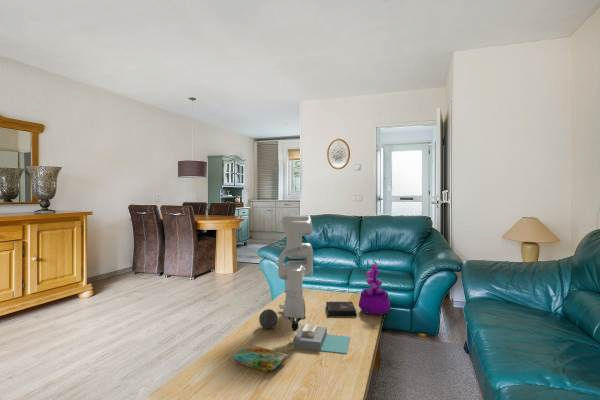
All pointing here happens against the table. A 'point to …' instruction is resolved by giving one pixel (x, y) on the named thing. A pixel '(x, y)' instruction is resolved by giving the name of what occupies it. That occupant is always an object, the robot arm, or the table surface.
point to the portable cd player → (341, 309)
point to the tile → (309, 330)
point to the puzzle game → (259, 358)
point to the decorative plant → (374, 295)
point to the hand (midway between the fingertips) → (294, 330)
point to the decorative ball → (268, 319)
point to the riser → (310, 339)
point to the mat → (336, 344)
